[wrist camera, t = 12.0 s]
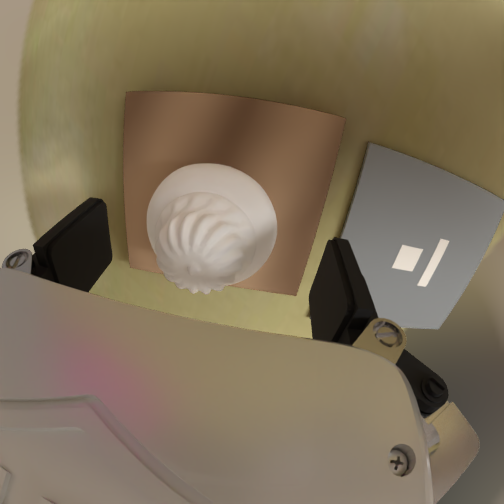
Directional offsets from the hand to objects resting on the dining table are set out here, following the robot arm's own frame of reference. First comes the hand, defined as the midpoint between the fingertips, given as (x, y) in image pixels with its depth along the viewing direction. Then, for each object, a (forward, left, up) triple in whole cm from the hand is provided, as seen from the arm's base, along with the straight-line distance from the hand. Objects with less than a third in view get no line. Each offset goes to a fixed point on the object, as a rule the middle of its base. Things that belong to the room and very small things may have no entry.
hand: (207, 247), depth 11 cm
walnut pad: (+1, 0, -7) cm, 7 cm away
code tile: (-14, +2, -7) cm, 16 cm away
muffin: (0, 0, -6) cm, 6 cm away
